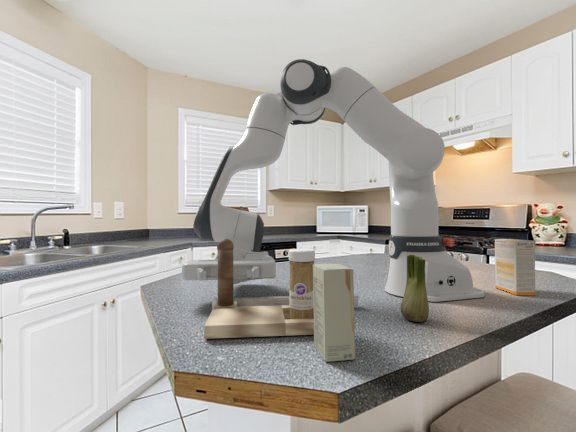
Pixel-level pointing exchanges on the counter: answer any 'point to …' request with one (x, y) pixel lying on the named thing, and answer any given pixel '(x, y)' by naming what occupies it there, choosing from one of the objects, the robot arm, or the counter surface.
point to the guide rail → (267, 301)
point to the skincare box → (334, 311)
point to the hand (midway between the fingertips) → (226, 275)
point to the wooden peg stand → (247, 309)
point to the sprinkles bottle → (301, 283)
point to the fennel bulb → (415, 291)
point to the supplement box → (515, 266)
